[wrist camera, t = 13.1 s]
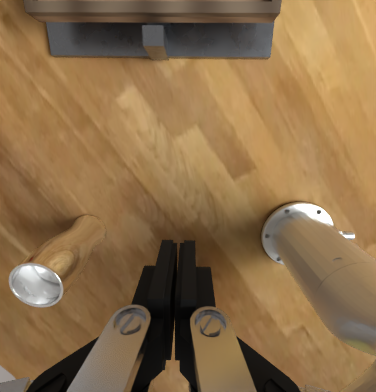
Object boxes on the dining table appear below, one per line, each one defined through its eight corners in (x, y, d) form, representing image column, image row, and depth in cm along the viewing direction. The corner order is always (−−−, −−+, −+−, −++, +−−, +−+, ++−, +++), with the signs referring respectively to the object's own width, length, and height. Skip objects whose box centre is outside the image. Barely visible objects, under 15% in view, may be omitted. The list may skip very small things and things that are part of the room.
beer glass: (67, 213, 40) (-2, 263, 26) (105, 211, 40) (56, 260, 25) (76, 247, 42) (16, 310, 28) (111, 245, 42) (70, 307, 28)
